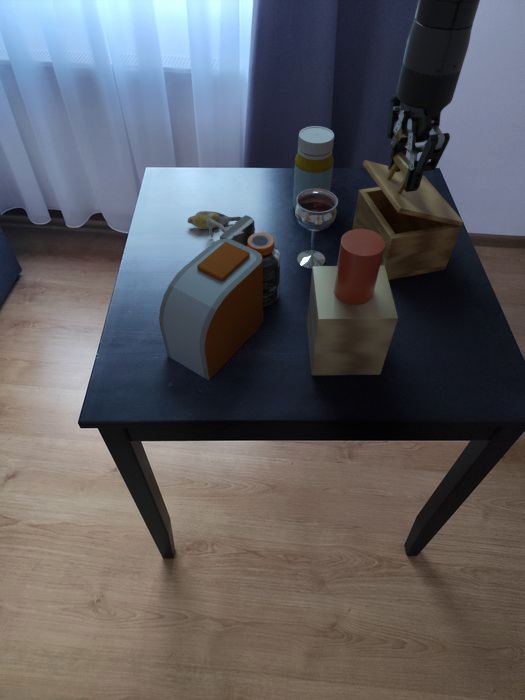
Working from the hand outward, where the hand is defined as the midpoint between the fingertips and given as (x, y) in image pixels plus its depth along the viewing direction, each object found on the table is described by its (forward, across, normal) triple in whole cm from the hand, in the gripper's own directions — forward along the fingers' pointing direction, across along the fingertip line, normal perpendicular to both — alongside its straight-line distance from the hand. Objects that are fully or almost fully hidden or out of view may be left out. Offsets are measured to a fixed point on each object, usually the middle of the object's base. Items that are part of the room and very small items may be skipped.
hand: (402, 179), depth 75 cm
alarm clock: (+15, -12, +33) cm, 38 cm away
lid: (+3, 0, -2) cm, 4 cm away
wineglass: (+15, +2, +13) cm, 20 cm away
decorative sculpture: (+15, +11, +27) cm, 32 cm away
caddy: (+14, 0, -3) cm, 15 cm away
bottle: (+15, +16, +9) cm, 24 cm away
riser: (+15, -19, +15) cm, 28 cm away
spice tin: (+3, -19, +15) cm, 25 cm away
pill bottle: (+15, -5, +24) cm, 29 cm away
